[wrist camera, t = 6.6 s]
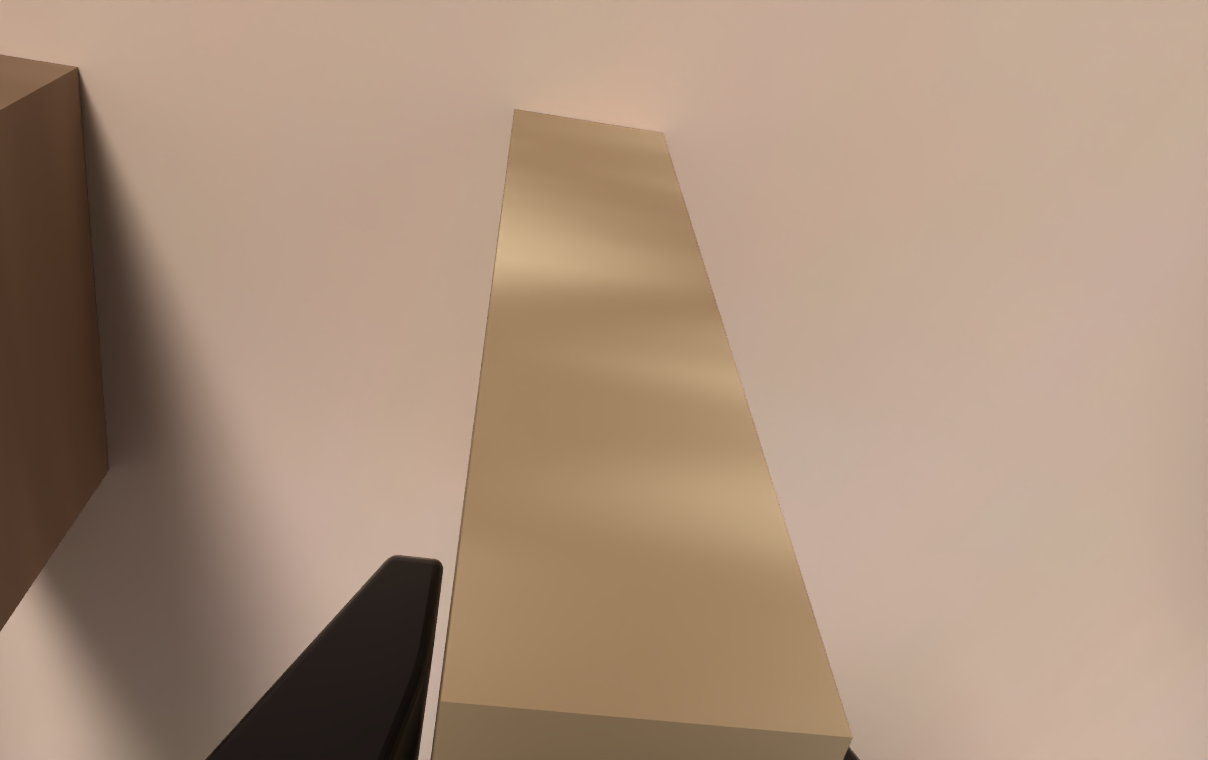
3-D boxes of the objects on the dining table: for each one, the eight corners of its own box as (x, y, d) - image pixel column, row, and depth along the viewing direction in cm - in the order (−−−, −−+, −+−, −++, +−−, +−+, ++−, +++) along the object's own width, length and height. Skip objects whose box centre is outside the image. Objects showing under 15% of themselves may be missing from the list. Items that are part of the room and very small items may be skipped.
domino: (662, 133, 11) (852, 739, 4) (586, 503, 13) (621, 1275, 6) (514, 109, 11) (442, 700, 4) (465, 489, 13) (366, 1267, 6)
